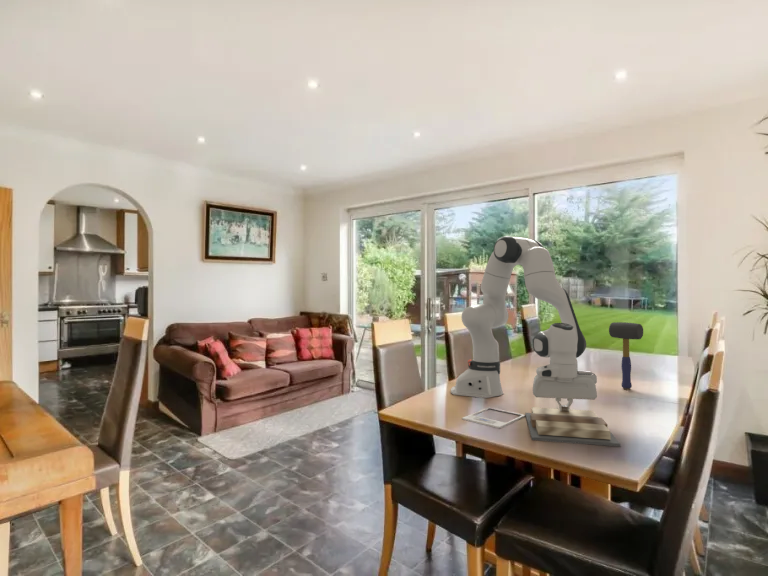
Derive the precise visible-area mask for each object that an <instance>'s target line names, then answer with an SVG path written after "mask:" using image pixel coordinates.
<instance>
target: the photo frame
mask: <svg viewBox="0 0 768 576" xmlns="http://www.w3.org/2000/svg"><path fill="white" fill-rule="evenodd" d="M489 410H493V411H499V412H503V413H508V414H512V415H517V416H518V417H515V418H513V419H511V420H508V421H507V422H504V421H499V420H495V419H492V418H487V417H482V416H478V415H479V414H482V413H483V412H487V411H489ZM523 418H526V416H525V414H523V413H517V412H512V411H508V410H503V409H500V408H494V407H485V408H484V409H481V410H479V411H476V412H474V413H471V414H469V415H466V416H463V417H461V419H462V420H463V421H468V422H470V423H471V422H472V423H476V424H479V425H484V426H487V427H491V428H496V429H502V428H504V427H506V426H508V425H510V424H513V423H514V422H517V421H519V420H520V419H523Z"/></svg>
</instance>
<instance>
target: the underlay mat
mask: <svg viewBox="0 0 768 576" xmlns="http://www.w3.org/2000/svg"><path fill="white" fill-rule="evenodd" d="M530 413H531V414H532V412H525V413H524V415H525V419H526V422H527V427H528V430H529V434H530V437H531V441H542V442H555V443H566V444H567V443H568V444H569V443H570V444H581V445H595V446H607V447H621V443H620V442H619V440H618V439H617V438H616V437H615V436H614V434H613V433H612V432H611V431H610V434H611V440H609V439H595V438H581V437H567V436H553V435H539V434H538V432H537V430H536V428H533V427H532V424H531V416H530Z"/></svg>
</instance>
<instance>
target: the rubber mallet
mask: <svg viewBox="0 0 768 576" xmlns="http://www.w3.org/2000/svg"><path fill="white" fill-rule="evenodd" d="M608 333H609V336H610V337H611V338H616V339H621V340H622V358H621V374H622V377H621V378H622V381H621V387H622V389H624V390H626V389H627V390H631V389H632V387H633V384H632V382H631V380H632V378H631V373H632V361H631V356H630V340H641V339H642V338H643V336H644V326H643V325H642V324H640V323H635V322H627V321H626V322H623V321H622V322H620V321H619V322H611V323H610V324H609V327H608Z"/></svg>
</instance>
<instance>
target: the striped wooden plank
mask: <svg viewBox="0 0 768 576" xmlns="http://www.w3.org/2000/svg"><path fill="white" fill-rule="evenodd" d="M529 413H530V416H531V424H532V427H533V428H536V420H541V421H556V422H572V423H588V424H604V425H605V426H606V427H607V428H608V427H609V426H608V423H607V422H606V421H605V420H604V418H603V417H599V416H598V417H581V416H564V415H548V414H531V413H532V412H529ZM608 429H609V428H608Z"/></svg>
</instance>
